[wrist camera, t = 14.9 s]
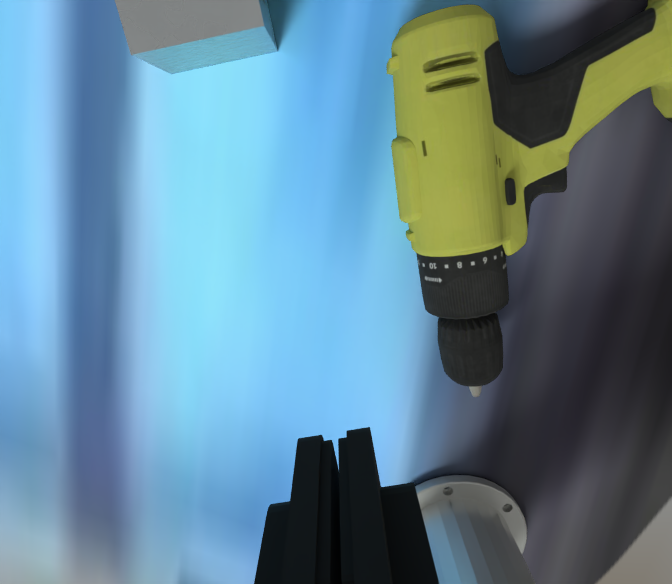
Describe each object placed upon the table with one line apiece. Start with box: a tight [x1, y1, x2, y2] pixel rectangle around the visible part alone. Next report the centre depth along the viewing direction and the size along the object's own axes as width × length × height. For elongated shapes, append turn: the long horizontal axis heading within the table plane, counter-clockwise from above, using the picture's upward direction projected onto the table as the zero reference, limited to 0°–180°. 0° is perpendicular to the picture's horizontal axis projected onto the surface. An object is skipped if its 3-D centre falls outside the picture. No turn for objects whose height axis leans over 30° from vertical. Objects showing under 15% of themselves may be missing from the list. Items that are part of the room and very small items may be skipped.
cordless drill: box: [387, 0, 672, 397], centre depth 28 cm, size 7×25×25 cm
